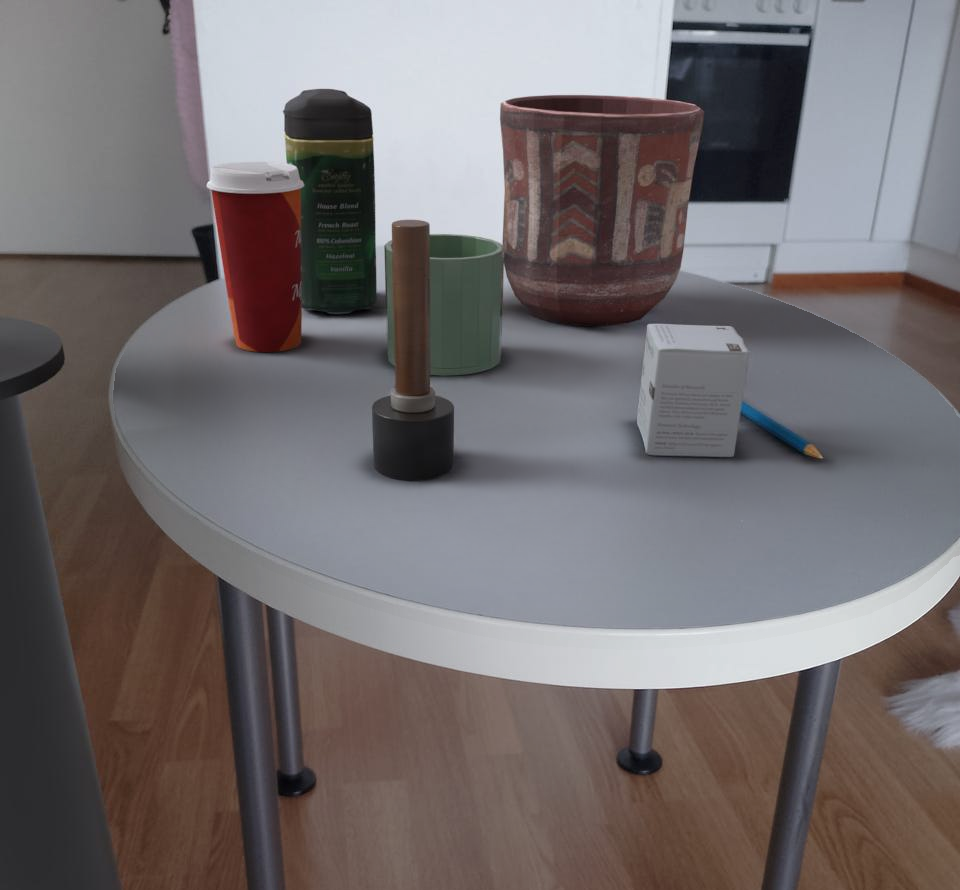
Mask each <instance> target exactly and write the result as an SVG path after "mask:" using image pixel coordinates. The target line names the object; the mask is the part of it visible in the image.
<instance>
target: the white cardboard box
mask: <svg viewBox="0 0 960 890" xmlns="http://www.w3.org/2000/svg"><path fill="white" fill-rule="evenodd" d="M750 355H751V353H750V351H749V349H748V348H747V346H746V344H745V342H744V339H743V337H742V336H740V334H739V333H738V332H737V330H736V329H735V328H734V326H731V325H697V324H694V325H693V324H677V323H676V324H675V323H674V324H673V323H648V324H647V326H646V335H645V346H644V353H643V360H642V361H643V362H642V371H641V380H640V388H639V397H638V407H637V417H636V424H637V427H638V429H639V432H640V435H641V438H642V441H643V445H644V451H645V454H647V455H649V456H657V457H658V456H660V457H700V458H701V457H703V458H705V457H706V458H712V457H713V458H733V457H734V456H735V453H736V444H737V438H738V432H739V425H740V420H741V419H740V418H741V413H740V412H741V406H742V401H744V400H743V399H744V393H745V387H746V381H747V373H748V367H749V360H750Z"/></svg>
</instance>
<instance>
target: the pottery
mask: <svg viewBox="0 0 960 890" xmlns="http://www.w3.org/2000/svg"><path fill="white" fill-rule="evenodd" d="M499 109H500V110H499V114H500V115H499V123H500V124H499V125H500V134H501V145H502V156H503V157H502V158H503V182H504V183H503V186H504V196H503V197H504V198H503V222H502V223H503V224H502V245H503V247H504V271H505V274H506V275H505V276H506V279H507V280H508V284H509V285H510V287H511V290H512V292H513V295H514V297H516V299H517V300H518V301H519V302H520V304H521V305H522V306H523V307H524V308H525V309H526V311H527V312H528V313H530V314H531V315H532V316H534V317H535V318H538V319H541V320H544V321H546V322H550V323H556V324H561V325H568V326H569V325H571V326H583V327H608V326H609V327H611V326H617V325H627V324H632V323H634V322H638V321H641V320H642V319H643V318H644V317H645V316H647V315H648V314H649V313H650V312H651V311H652V310H653V309H654V308H656V306H658V305H659V304H660V303H661V302H663V300H664V299H665V298H666V296H667V295H668V293H669V292H670V290H671V288H672V287H673V285H674V284H675V282H676V281H677V278H678V276H679V273H680V270H681V268H682V262H683V256H684V249H685V239H686V231H687V230H686V228H687V220H688V211H689V204H690V203H689V202H690V196H691V190H692V182H693V176H694V168H695V164H696V158H697V154H698V149H699V144H700V140H701V136H702V131H703V125H704V117H705V111H704V110H703V109H702V108H700V107H699V106H697V105H696V104H694V103H689V102H684V101H679V100H671V99H662V98H654V97H653V98H652V97H641V96H625V95H624V96H623V95H603V94H602V95H600V94H547V95H529V96H528V95H527V96H521V97H514V98H510V99H507V100H504V101H502V102H501V103H500V108H499Z"/></svg>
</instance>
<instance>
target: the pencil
mask: <svg viewBox="0 0 960 890" xmlns="http://www.w3.org/2000/svg"><path fill="white" fill-rule="evenodd" d="M740 415H742V416H744V417H746V418H748V419H749V420H750V421H752V422H754V423H755V424H757V425H758V426H760V427H762V428H763V429H765V430H766V431H768V432H770V433H771V434H773V435H774V436H776V438H777V437H778V439H780V440H782V441H783V442H785V443H786V444H788V445H789V446H791V447H792V448H794V449H796V450H798V451H799V452H800V453H802V454H804V455H805V456H810V457H814V458H818V459H824V457H823V455H822V454H821V453H820V452H819V450H818V449H817V448H816V447H815V445H813V443H812V442H810V441H808V440H806V439H805V438H804V437H802V436H800V435H799V434H796V433H795V432H793V431H792V430H791V429H789V428H787V427H786V426H784V425H782V424H781V423H779V422H777V421H776V420H774V419H773V418H771V417H769V416H768V415H766V414H765V413H763V412H761V411H760V410H758V409H757V408H755V407H753V406H751V405H750V404H749V403H747V402H746V401H744V400H742V406H741V412H740Z"/></svg>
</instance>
